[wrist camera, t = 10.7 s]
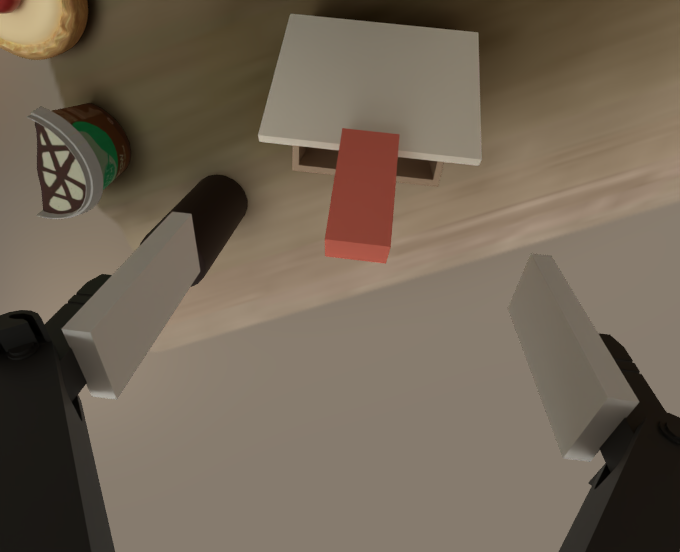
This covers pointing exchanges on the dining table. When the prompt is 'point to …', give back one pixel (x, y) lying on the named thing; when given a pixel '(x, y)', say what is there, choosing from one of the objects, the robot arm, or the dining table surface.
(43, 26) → the pastry
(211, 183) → the bottle
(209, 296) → the dining table surface
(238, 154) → the dining table surface
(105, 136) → the food container
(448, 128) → the lid
